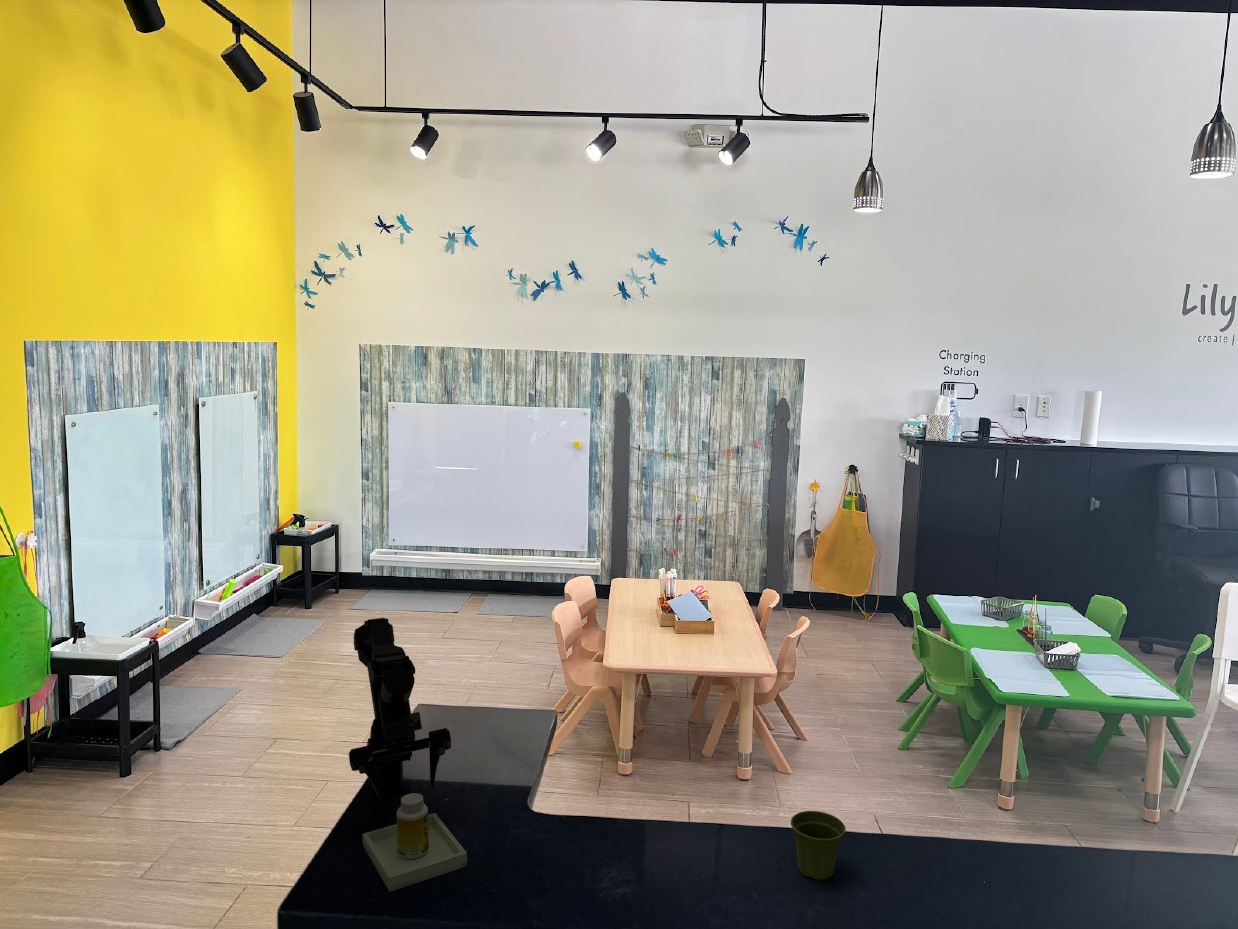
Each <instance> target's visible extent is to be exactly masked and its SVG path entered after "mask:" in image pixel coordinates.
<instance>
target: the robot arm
mask: <svg viewBox="0 0 1238 929" xmlns="http://www.w3.org/2000/svg"><path fill="white" fill-rule="evenodd" d="M394 633H395V632H394V626H393V624H391V623H390V622H389V618H386V617H378V618H370V619H367V620H364V623H363V624H362V625H360V626H359V627H357V628H355V630H354V632H353V647H354V648H353V649H354V652H357V655H358V661H359V662H360V663H362V664H363V665H364V666H365V667H366V668H367V674H368V680H369V687H370V694H371V702H372V708H373V714H374V718H373V720H372V724H371V726H370V732H369V733H370V735H369V738H367V740H366V741H367V743H366V745H364V746H359V747H355V748H351V749H350V751H349V752H348V759H349V760H348V761H349V765H350V768H351V771H352V772H359V774H360V775H363V774H365V775H366V777H367V778H368V780H369V781H370V783H369V786H370V787H371V788H372V790H373V792H374V793H375V794H376V796H377V797H378V799H379V800H380V802H384V797H385V796H389V795H393V794H398V793H401V792H405V791H408V790H409V789H410V786H409V785H408V784H407V782H406V781H405V780H404V762H407V761H408V762H409V761H410V762H411V758H412V757H413V752H417V751H420V750H425V749H429V780H430V781H429V782H430V783H429V784H430V787H431V788H430V789H431V790H434V789H435V781H436V777H437V776H436V774H437V768H438V764H439V761H440V757H441V756H444V755H445V754H446V751H448V750H450V749H452V737H451V732H450V730H449V729H448V728H446V727H443V728H439V729H435V730H431V731H428V736H427V737H424V738H420V739H416V732H415V731H420V730H422V729H423V727H422V719H421V714H420V711H417V712H412V710H411V709H412V708H411V705H410V704H411V703H410V698H411V695H412V692H413V688H414V685H415V675H416V667H415V665H414V663H413V661H412V660H411V659H410V657H409V655H407V654H406V652H405V649H404V648H403V647H401V646H398V645H395V634H394Z"/></svg>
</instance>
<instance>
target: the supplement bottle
mask: <svg viewBox="0 0 1238 929" xmlns="http://www.w3.org/2000/svg"><path fill="white" fill-rule="evenodd" d="M428 815H429V808H428V806H427V805H426V804H425V803H424V795H423V794H421V793H415V792H413V793H408V794H405V795H403V796H402V797H401V799H400V806H399V808H397V811H396V824H397V846H398V853H399V855H400V856H401V857H403V858H407V859H414V858H418V857H421V856H423V855H424V854H425V853H426V852H427V851H428V848H429V831H428V830H429V829H428Z"/></svg>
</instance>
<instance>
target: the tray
mask: <svg viewBox="0 0 1238 929" xmlns="http://www.w3.org/2000/svg"><path fill="white" fill-rule="evenodd" d="M428 829H429V830H428V831H429V848H428V851H427V852H426V853H425V854H424V855H423V856H421V857H418V858H414V859H407V858H403V857H401V856H400V855H399V853H398V846H397V823H396V824H392V825H389V826H385V827H381V828H378V829H374V830H371V831H367V832H365V833H362V848H363V849H364V851H365V853H366V852H367V853H366V854H367V856H368V857H369V858H368V859H371V860H370V861H371V863H372V864H373V867H374V868H375V870H376V872H377V873H378V875H379V876H380V878H381V880H382V882H383V883H384V885H385V887H386V888H387V890H388V892H389V893H390V892H394V891H397V890H399V889H402V888H406V887H408V886H412V885H415V884H419V883H421V882H423V881H427V880H429V879H432V878H435V877H439V876H442V875H445V874H448V873H451V872H454V871H457V870H460V869H462V868H466V867H467V866H468V852H467V851H466V850H465V849H464V847H463V846H462V845H461V844H460V842H458V840H457V839H456V837H455V836H454V835H453V834H452V832H451V831H450V830H449V828H448V827H447V826H446V825H445V823H444V822H443V821H442V819H441V818H440V817H439V816H438V814H437V813H436V812H433V813H428ZM465 866H466V867H465Z"/></svg>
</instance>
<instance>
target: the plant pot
mask: <svg viewBox="0 0 1238 929" xmlns="http://www.w3.org/2000/svg"><path fill="white" fill-rule="evenodd" d="M790 826H791V828H792V830H793V834H794V836H795V845H796V855H797V857H796V858H797V865H798V866H797V868H798V870H799V872H800V873H801V874H802V875H803V876H804V877H806V878H808V877H810V878H813V879H814V880H818V881H822V880H827V879H830V878H831V877H832V876H833V875H834V872H835V868H836V862H837V858H838V852H839V847H840V845H841V844H840V843H841V841H842V840H843V837H844V836H845V833H846V829H847V828H846V826H845V824H844V823H843V821H842V820H841V819H840V818H838V817H836V816H835V815H833V814H830V813H827V812H824V811H819V810H803V811H800V812H797V813H795V814H794V815H793V816H792V817H791V819H790Z"/></svg>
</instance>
